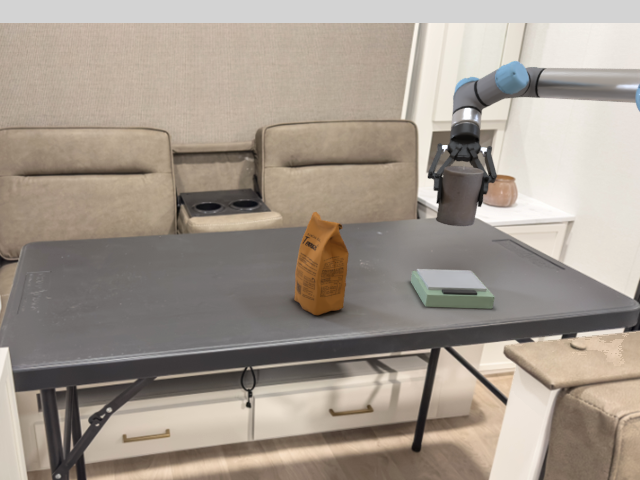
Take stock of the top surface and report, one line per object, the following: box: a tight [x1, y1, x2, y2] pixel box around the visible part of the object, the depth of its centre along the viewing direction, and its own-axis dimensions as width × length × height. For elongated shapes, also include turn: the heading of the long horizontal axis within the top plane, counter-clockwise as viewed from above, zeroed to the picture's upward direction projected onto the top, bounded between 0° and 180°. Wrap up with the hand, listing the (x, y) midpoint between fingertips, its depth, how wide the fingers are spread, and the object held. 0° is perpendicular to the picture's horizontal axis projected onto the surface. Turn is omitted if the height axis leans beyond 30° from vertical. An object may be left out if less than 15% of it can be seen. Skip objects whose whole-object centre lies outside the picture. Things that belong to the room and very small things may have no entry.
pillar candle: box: [435, 164, 484, 227], centre depth 151 cm, size 10×10×15 cm
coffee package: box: [294, 211, 350, 316], centre depth 136 cm, size 10×12×22 cm
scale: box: [410, 268, 496, 310], centre depth 147 cm, size 16×16×4 cm
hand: (459, 202), depth 149 cm, fingers closed on pillar candle, 9 cm apart
